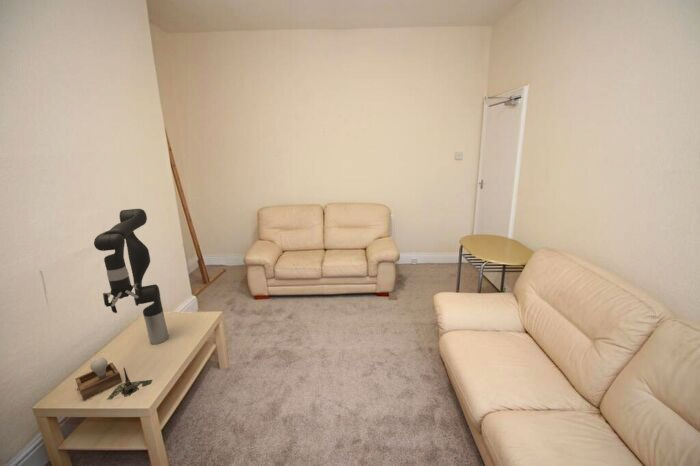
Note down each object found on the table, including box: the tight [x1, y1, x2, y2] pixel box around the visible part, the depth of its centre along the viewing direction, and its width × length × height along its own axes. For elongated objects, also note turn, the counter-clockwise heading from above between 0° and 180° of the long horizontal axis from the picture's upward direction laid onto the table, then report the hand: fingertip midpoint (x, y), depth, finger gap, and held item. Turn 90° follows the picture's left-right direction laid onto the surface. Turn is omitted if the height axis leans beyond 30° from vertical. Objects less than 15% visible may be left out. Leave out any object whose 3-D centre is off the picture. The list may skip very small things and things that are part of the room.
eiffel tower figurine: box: [106, 367, 154, 400], centre depth 138 cm, size 15×10×13 cm
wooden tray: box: [75, 362, 123, 401], centre depth 142 cm, size 12×14×5 cm
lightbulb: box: [89, 357, 109, 380], centre depth 142 cm, size 6×6×11 cm
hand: (126, 308), depth 144 cm, fingers open, 8 cm apart
